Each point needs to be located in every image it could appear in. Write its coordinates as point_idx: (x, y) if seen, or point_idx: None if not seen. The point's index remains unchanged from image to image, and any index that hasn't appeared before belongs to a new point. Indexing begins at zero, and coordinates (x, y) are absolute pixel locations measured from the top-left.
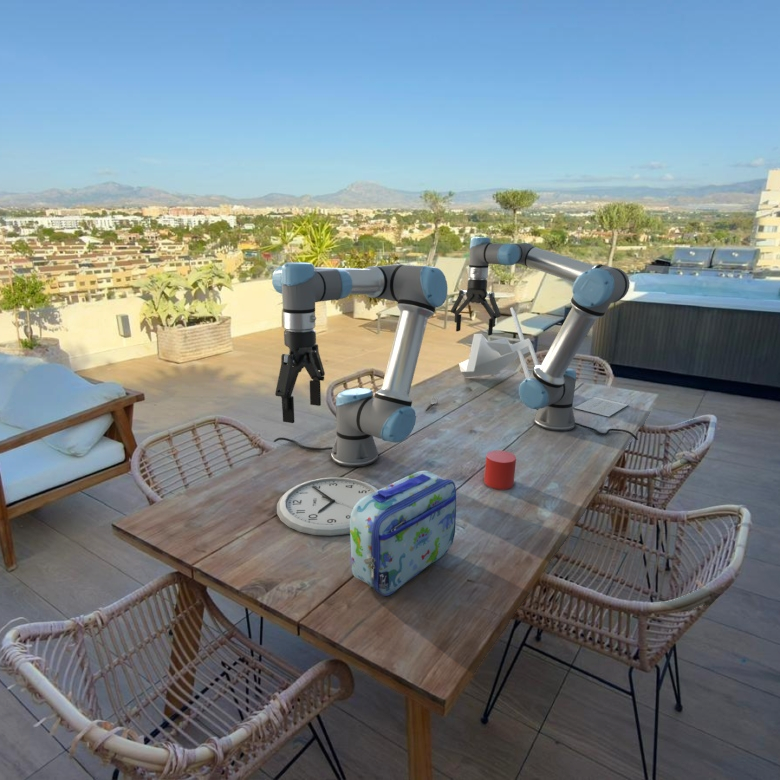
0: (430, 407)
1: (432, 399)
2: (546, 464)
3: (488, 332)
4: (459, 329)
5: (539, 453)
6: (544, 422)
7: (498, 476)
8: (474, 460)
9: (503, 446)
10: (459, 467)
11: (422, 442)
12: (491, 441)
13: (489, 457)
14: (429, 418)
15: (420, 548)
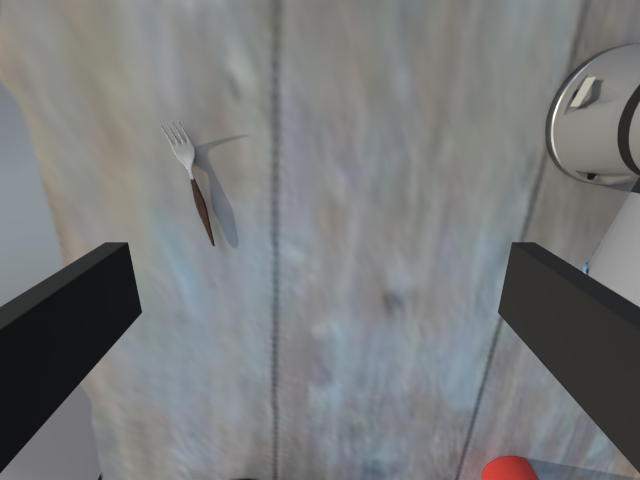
0: (206, 208)
1: (168, 138)
2: None
3: (518, 330)
4: (125, 275)
5: None
6: (591, 181)
7: None
8: (444, 427)
9: (485, 344)
10: (427, 459)
11: (315, 408)
12: (452, 333)
13: None
14: (250, 279)
15: None
